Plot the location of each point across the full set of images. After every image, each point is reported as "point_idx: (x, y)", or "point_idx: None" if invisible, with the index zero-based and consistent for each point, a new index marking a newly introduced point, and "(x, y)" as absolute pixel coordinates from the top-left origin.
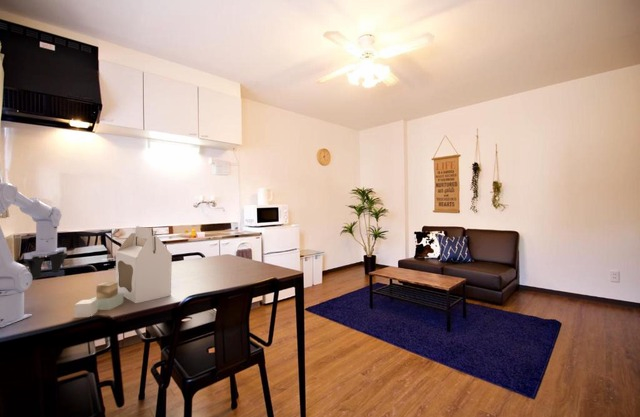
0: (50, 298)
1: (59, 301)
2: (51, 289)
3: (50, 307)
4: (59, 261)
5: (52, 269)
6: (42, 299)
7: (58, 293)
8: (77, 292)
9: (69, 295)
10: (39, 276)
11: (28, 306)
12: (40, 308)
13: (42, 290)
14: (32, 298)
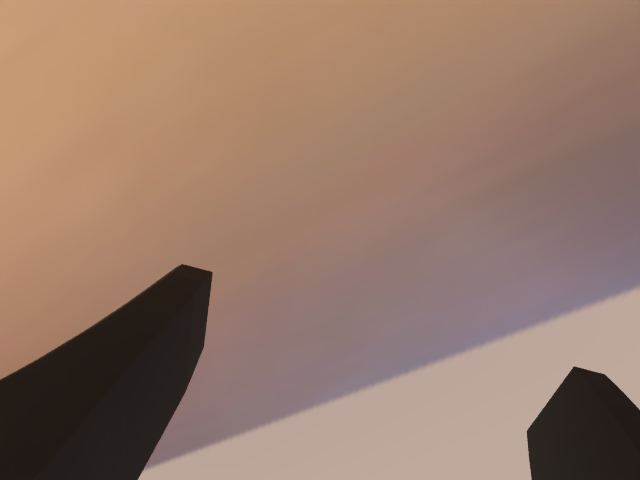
0: (266, 188)
1: (385, 46)
2: (27, 304)
3: (602, 15)
4: (66, 463)
5: (182, 391)
6: (288, 233)
7: (120, 203)
8: (74, 42)
9: (179, 66)
10: (599, 379)
11: (477, 234)
12: (595, 102)
13: (59, 343)
14: (252, 310)
